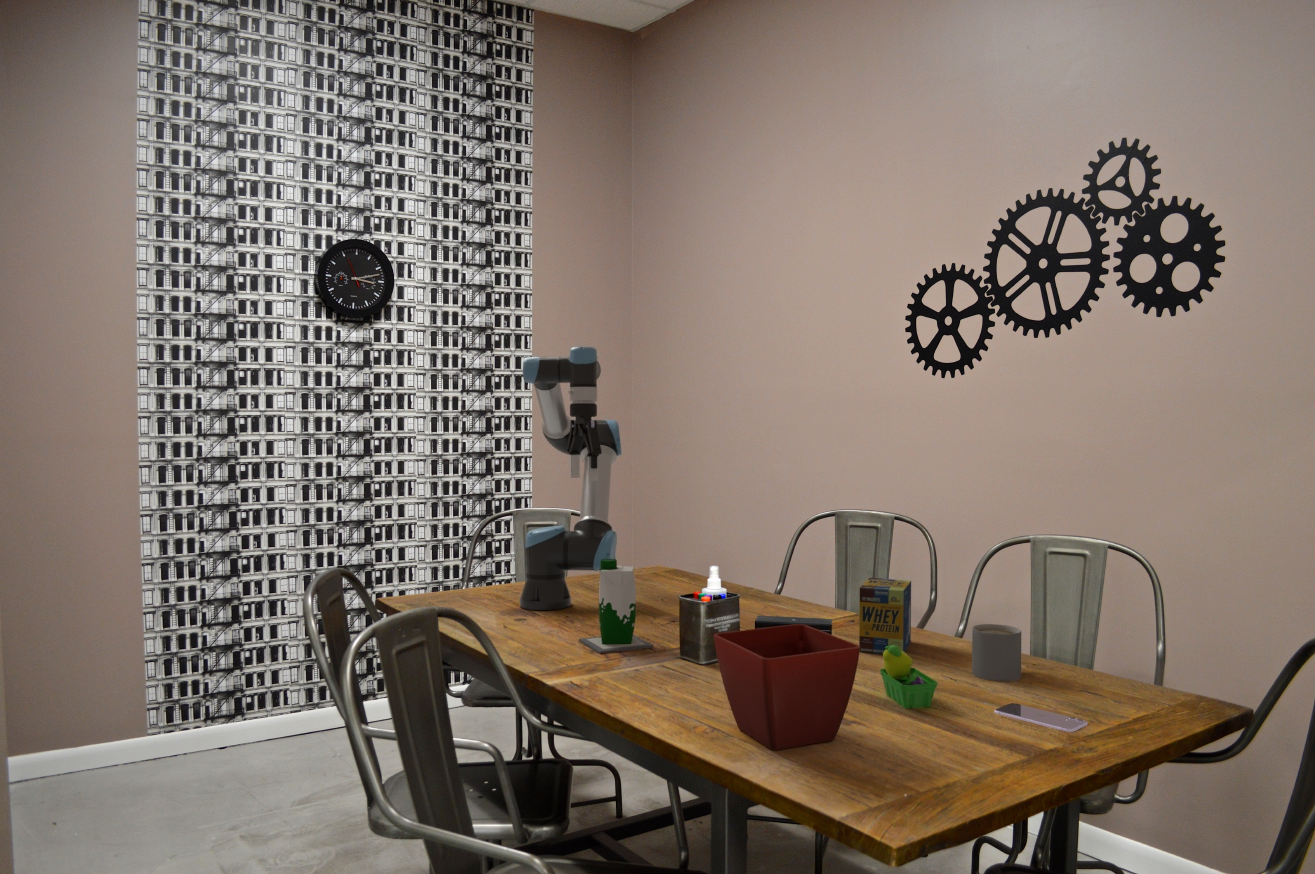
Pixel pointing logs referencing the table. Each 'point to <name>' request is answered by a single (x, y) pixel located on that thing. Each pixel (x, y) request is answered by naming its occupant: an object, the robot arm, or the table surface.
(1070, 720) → the mobile phone
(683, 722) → the table surface
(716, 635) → the plant pot
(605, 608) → the soya milk
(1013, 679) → the coffee mug
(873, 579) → the protein box
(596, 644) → the mat
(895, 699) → the fruit basket
